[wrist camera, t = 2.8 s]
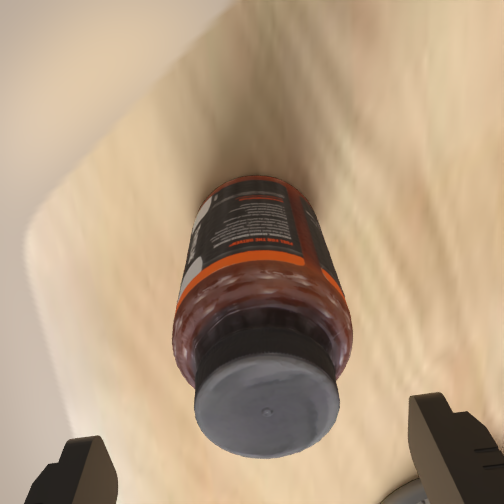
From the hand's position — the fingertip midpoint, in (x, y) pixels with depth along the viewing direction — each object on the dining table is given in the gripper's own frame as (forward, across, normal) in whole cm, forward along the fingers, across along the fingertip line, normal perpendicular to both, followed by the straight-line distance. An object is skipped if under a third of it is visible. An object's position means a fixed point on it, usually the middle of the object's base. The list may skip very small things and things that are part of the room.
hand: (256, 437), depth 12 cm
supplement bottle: (+12, -1, 0) cm, 12 cm away
